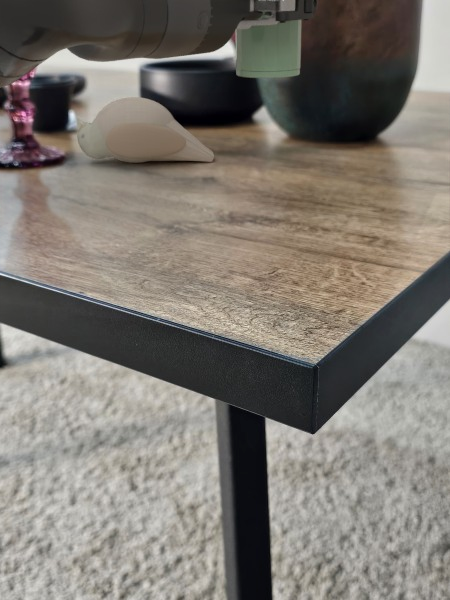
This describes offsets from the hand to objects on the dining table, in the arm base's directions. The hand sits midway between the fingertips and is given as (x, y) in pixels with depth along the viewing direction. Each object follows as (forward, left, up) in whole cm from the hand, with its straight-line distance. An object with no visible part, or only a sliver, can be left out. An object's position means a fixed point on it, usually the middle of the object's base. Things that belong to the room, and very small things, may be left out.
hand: (281, 2), depth 72 cm
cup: (-1, -2, -6) cm, 7 cm away
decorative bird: (-18, +5, -18) cm, 26 cm away
